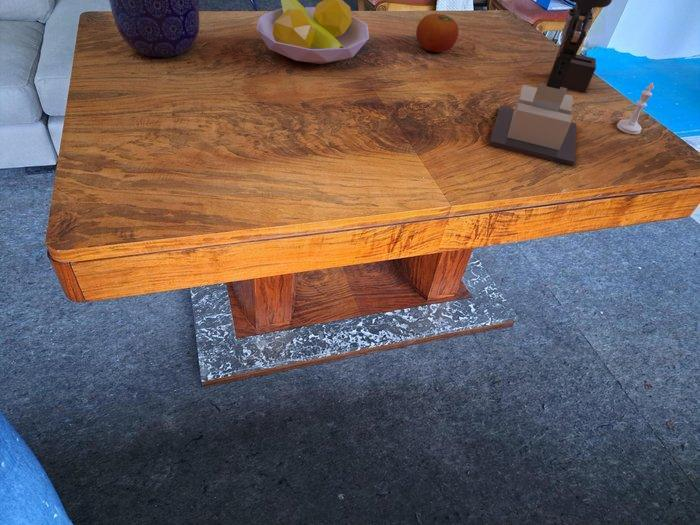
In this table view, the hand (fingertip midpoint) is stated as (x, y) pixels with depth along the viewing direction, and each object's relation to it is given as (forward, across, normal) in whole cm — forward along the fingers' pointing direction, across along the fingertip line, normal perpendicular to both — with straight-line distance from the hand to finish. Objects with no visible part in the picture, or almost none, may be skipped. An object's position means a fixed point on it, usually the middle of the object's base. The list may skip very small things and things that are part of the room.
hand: (557, 74), depth 92 cm
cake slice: (+13, -2, 0) cm, 13 cm away
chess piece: (+14, +16, -19) cm, 28 cm away
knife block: (+14, +32, -6) cm, 35 cm away
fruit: (+14, +35, +28) cm, 47 cm away
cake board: (+14, +2, 0) cm, 14 cm away
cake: (+13, +5, 0) cm, 13 cm away
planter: (+14, +1, +85) cm, 86 cm away
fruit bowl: (+14, +18, +55) cm, 60 cm away
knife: (+12, 0, 0) cm, 12 cm away
